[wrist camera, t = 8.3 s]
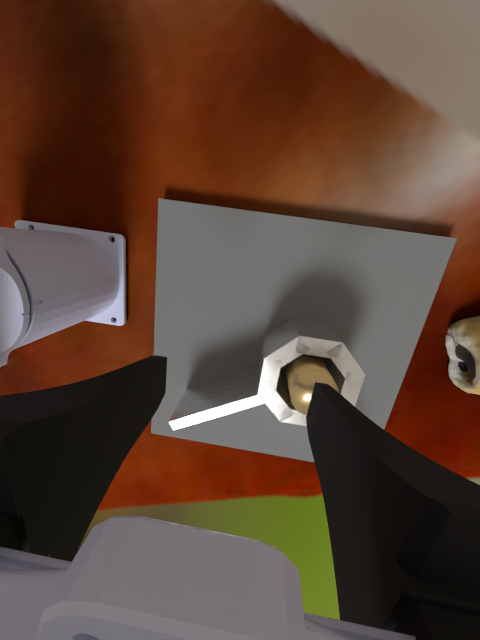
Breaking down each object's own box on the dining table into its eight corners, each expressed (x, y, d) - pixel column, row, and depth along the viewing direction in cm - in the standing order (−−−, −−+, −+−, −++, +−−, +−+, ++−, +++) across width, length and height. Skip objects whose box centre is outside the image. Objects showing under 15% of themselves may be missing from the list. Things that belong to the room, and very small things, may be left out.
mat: (155, 426, 26) (151, 433, 25) (163, 200, 19) (158, 198, 18) (363, 463, 25) (367, 471, 24) (446, 238, 18) (456, 238, 17)
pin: (280, 368, 21) (287, 413, 16) (285, 337, 20) (294, 372, 15) (314, 373, 21) (333, 419, 16) (321, 341, 20) (344, 378, 15)
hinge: (183, 428, 24) (166, 467, 20) (193, 301, 20) (174, 316, 16) (339, 456, 23) (356, 502, 19) (380, 330, 20) (413, 353, 15)
